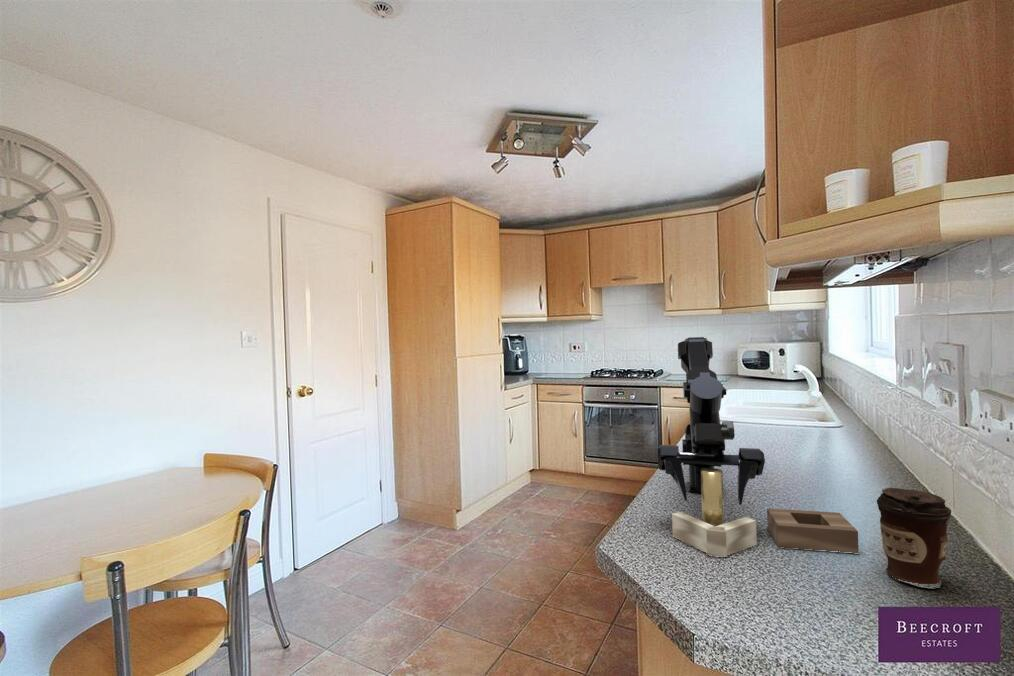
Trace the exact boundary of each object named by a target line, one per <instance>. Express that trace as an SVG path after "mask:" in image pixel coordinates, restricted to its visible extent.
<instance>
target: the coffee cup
mask: <svg viewBox="0 0 1014 676" xmlns="http://www.w3.org/2000/svg"><path fill="white" fill-rule="evenodd" d="M876 503H877V508H878V510H879V513H880V519H879V525H880V533H881V537H882V538H881V540H882V541H881V542H882V550H883V552H884V555H885V556H886V558H887V566H886V570H885V571H886V573H887V572H888V573H889V574H890V575H891V576H893V577H894V578H896V579H900V580H903V581H907V582H912V583H918V584H937V583H939V582H940V580H941V578H940V575H939V571H940V567H941V565H942V563H943V561H945V560H946V559H947V558H946V557H947V556H946V551H947V547H948V533H947V532H948V531H947V530H948V525H949V523H950V519H951V515H952V510H951V509H950V508H949V507H947V506H946V504H945V503H946V500H945V499H944V498H943V497H941V496H940V495H937V494H934V493H930V492H927V491H921V490H917V489H906V488H905V489H904V488H899V487H898V488H897V487H887V488H884V489H882V493H880V495H879V496H878V497H877V499H876ZM888 573H887V574H888ZM889 574H888V575H889ZM890 575H889V576H890ZM891 576H890V577H891ZM894 578H893V579H894ZM896 579H895V580H896Z"/></svg>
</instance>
